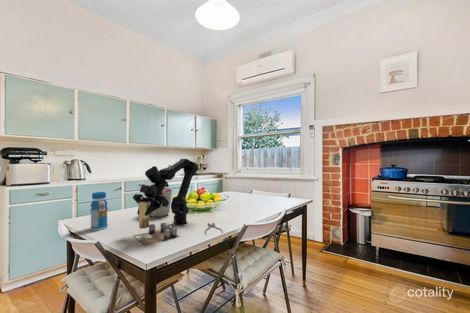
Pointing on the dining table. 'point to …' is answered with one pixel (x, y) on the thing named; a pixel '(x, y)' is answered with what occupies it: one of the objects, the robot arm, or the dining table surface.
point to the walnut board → (151, 237)
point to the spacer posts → (164, 230)
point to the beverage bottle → (99, 211)
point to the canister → (163, 210)
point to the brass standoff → (143, 214)
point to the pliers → (212, 226)
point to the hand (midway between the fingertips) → (141, 215)
